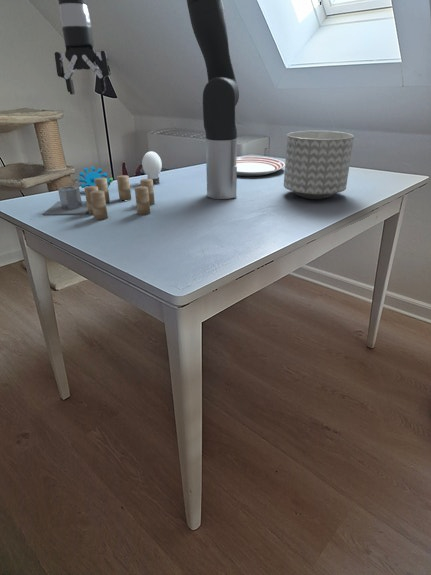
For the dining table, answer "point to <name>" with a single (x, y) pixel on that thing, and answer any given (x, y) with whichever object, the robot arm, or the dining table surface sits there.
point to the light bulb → (152, 166)
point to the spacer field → (100, 196)
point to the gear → (92, 177)
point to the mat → (58, 210)
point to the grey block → (70, 197)
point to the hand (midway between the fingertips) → (87, 93)
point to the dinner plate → (257, 166)
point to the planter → (317, 163)
